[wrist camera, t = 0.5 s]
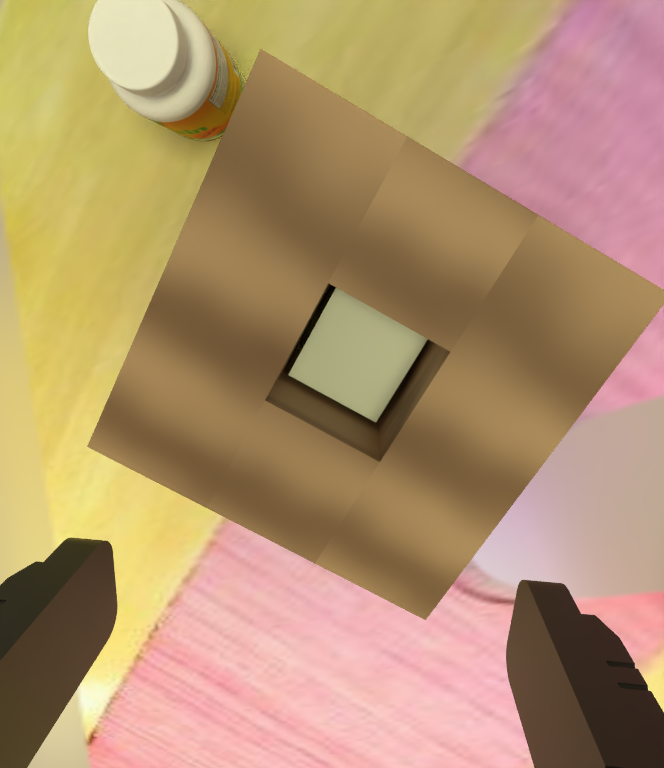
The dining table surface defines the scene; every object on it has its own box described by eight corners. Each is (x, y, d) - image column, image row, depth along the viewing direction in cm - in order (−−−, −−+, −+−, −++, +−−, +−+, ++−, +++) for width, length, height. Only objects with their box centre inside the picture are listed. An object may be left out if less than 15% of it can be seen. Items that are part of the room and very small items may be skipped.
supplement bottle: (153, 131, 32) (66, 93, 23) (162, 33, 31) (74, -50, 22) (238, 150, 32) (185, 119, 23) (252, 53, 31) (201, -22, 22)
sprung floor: (338, 283, 28) (336, 285, 27) (426, 333, 29) (428, 337, 28) (290, 370, 30) (288, 374, 29) (375, 416, 30) (375, 422, 29)
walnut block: (296, 108, 32) (260, 49, 21) (575, 272, 33) (671, 294, 23) (167, 384, 37) (87, 446, 27) (410, 513, 39) (425, 619, 28)
